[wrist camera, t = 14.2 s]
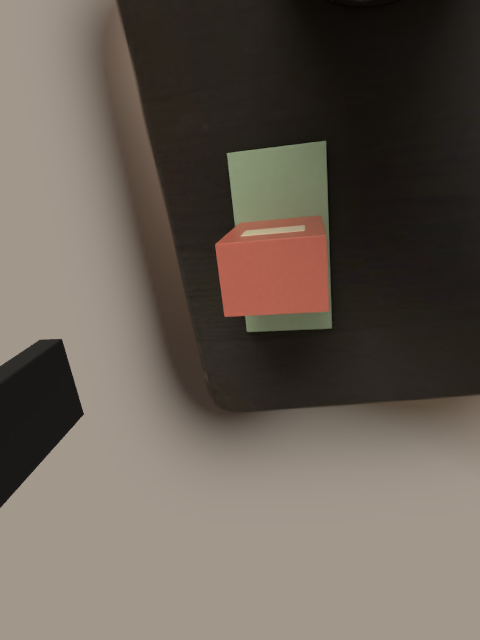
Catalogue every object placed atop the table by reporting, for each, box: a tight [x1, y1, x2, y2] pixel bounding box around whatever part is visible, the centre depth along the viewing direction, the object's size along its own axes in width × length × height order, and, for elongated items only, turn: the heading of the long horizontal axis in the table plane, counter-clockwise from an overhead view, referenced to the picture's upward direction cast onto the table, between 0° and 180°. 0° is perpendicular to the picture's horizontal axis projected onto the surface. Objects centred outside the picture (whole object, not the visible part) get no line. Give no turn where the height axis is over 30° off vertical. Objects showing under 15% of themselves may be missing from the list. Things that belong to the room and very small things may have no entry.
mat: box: [227, 141, 332, 332], centre depth 35 cm, size 16×8×1 cm, turn 6°
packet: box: [215, 215, 329, 317], centre depth 30 cm, size 5×7×10 cm
